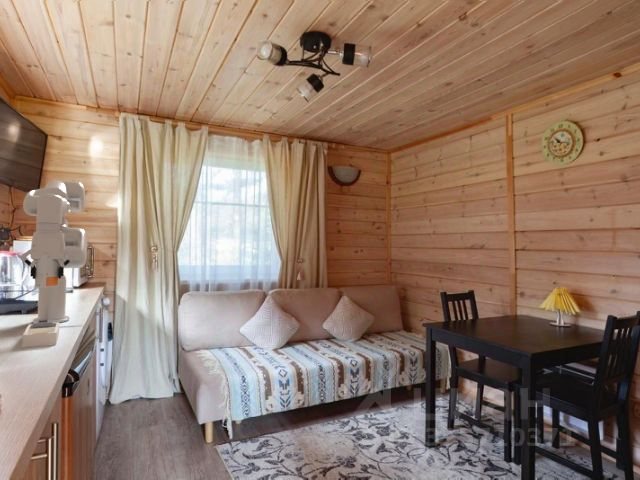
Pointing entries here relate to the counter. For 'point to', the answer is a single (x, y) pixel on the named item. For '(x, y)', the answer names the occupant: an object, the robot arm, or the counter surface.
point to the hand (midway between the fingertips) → (47, 278)
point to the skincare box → (47, 272)
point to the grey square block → (43, 323)
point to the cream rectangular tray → (40, 336)
